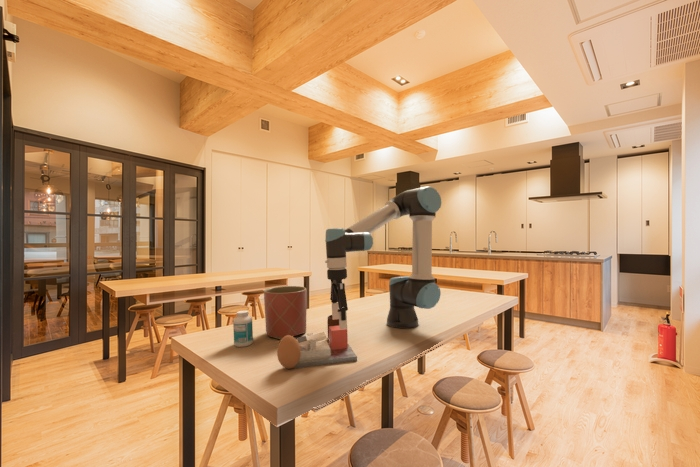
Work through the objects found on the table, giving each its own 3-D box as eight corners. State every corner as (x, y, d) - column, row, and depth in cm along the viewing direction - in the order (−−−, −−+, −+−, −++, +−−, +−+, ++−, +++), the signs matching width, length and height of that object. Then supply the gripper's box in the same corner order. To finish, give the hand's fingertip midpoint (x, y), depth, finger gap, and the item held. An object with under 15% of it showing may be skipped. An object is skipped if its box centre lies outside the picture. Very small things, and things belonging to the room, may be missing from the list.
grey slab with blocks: (346, 345, 126) (346, 325, 126) (357, 360, 111) (356, 337, 111) (290, 351, 121) (289, 330, 121) (293, 368, 105) (292, 344, 105)
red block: (344, 342, 125) (343, 324, 125) (347, 347, 119) (347, 329, 119) (329, 344, 124) (328, 326, 124) (332, 349, 118) (331, 330, 118)
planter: (277, 343, 130) (276, 295, 131) (257, 333, 145) (256, 289, 145) (315, 333, 143) (314, 289, 143) (293, 325, 157) (292, 284, 157)
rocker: (324, 334, 117) (323, 330, 117) (326, 339, 111) (326, 335, 111) (297, 341, 114) (296, 337, 114) (298, 346, 109) (297, 342, 109)
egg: (300, 371, 102) (298, 338, 102) (277, 374, 102) (274, 341, 101) (302, 361, 110) (299, 330, 109) (280, 363, 109) (277, 332, 109)
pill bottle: (247, 340, 136) (247, 308, 136) (256, 344, 130) (255, 311, 131) (230, 344, 130) (230, 311, 131) (238, 348, 125) (238, 314, 125)
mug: (353, 342, 129) (352, 319, 129) (336, 345, 126) (335, 322, 126) (341, 334, 140) (340, 313, 140) (325, 337, 137) (324, 315, 137)
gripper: (322, 266, 133) (324, 316, 133) (333, 273, 108) (336, 334, 109) (339, 264, 134) (341, 314, 135) (354, 271, 110) (357, 332, 110)
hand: (339, 323), depth 122 cm, fingers open, 13 cm apart
